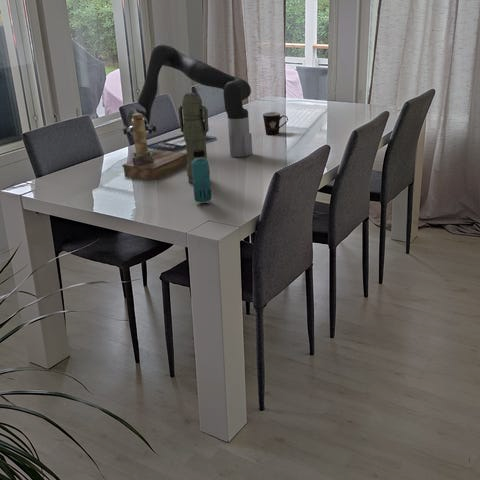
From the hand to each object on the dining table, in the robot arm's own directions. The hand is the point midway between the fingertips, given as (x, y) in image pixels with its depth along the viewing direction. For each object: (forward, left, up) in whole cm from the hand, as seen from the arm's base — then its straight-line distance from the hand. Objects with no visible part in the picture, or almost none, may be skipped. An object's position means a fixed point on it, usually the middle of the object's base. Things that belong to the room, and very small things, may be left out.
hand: (139, 132), depth 292 cm
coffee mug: (-27, -71, -16) cm, 78 cm away
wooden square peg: (-6, +7, -11) cm, 14 cm away
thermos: (-36, +9, -16) cm, 40 cm away
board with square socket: (-9, +2, -16) cm, 18 cm away
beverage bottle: (-53, +31, -16) cm, 63 cm away
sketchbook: (+9, -40, -16) cm, 44 cm away
